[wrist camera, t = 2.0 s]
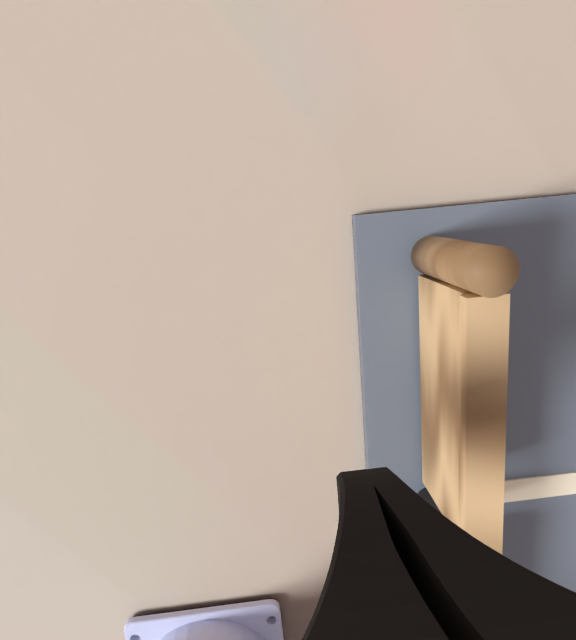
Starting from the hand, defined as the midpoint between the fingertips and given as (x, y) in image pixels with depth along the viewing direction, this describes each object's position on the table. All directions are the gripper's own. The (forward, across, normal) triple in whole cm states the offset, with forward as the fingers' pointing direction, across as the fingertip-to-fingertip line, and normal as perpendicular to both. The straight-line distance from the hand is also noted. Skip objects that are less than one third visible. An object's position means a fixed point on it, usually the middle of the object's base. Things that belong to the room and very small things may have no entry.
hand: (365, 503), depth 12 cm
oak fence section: (+9, -5, 0) cm, 10 cm away
